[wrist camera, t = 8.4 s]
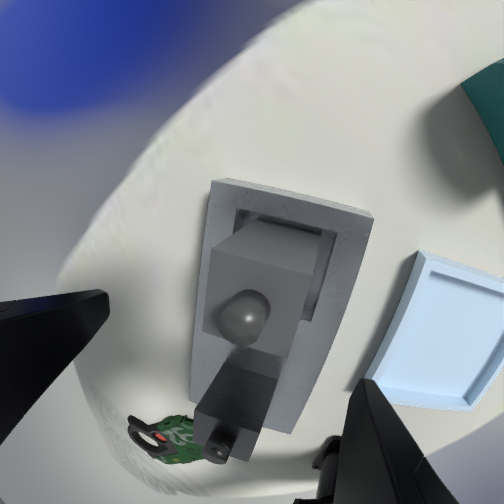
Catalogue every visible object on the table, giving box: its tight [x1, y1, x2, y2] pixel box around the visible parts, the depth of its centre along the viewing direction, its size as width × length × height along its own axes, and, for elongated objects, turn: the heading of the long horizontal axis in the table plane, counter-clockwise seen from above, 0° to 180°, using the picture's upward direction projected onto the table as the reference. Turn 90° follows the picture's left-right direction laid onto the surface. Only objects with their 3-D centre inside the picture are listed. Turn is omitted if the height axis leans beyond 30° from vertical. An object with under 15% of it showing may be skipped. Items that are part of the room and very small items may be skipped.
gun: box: [127, 415, 205, 464], centre depth 29 cm, size 16×2×10 cm
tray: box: [364, 250, 504, 412], centre depth 16 cm, size 11×11×2 cm
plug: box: [202, 217, 322, 359], centre depth 14 cm, size 4×4×9 cm
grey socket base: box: [189, 178, 374, 464], centre depth 16 cm, size 18×9×9 cm, turn 169°
